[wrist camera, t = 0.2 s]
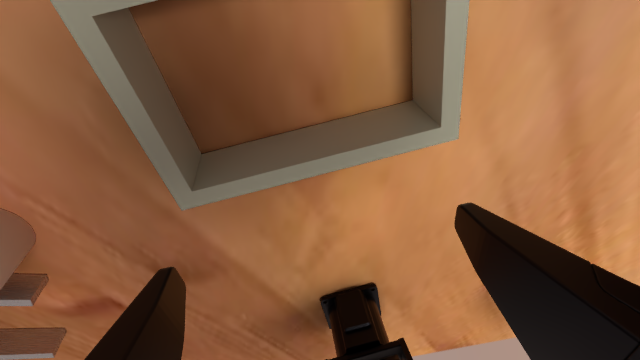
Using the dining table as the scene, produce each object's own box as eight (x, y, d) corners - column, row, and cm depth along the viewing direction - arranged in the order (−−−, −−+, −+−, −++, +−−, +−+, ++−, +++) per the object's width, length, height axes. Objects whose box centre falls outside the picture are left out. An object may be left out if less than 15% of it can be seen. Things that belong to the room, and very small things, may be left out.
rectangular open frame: (428, 110, 24) (458, 138, 21) (192, 171, 24) (181, 210, 21) (431, -102, 17) (478, -115, 13) (89, -18, 17) (45, -9, 13)
